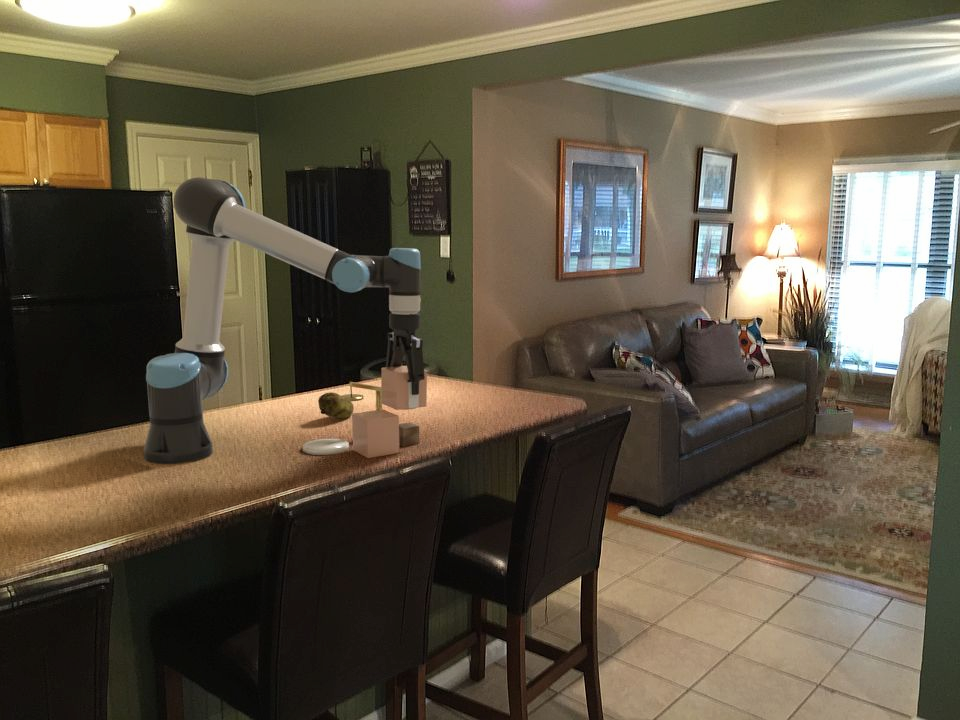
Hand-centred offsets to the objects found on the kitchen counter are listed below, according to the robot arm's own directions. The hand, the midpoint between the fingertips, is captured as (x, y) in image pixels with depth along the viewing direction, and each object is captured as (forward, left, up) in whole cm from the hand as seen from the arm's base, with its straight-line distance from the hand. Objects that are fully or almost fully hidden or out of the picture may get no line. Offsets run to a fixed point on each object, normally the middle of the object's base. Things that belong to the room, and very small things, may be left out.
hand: (404, 403), depth 199 cm
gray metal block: (0, 0, -10) cm, 10 cm away
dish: (-19, +6, -10) cm, 22 cm away
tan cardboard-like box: (-10, -3, -10) cm, 14 cm away
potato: (-4, +33, -10) cm, 35 cm away
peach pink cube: (0, 0, 0) cm, 0 cm away
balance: (-2, +11, -10) cm, 15 cm away
